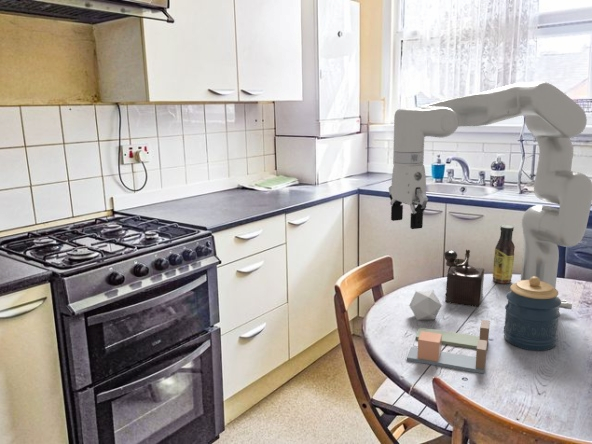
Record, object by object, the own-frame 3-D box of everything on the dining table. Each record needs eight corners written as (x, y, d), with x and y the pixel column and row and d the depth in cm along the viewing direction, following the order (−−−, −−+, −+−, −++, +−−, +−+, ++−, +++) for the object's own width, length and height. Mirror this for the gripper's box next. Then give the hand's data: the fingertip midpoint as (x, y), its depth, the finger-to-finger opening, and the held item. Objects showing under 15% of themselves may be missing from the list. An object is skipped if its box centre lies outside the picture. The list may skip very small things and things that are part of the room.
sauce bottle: (489, 278, 182) (492, 223, 178) (506, 277, 183) (510, 223, 178) (497, 285, 176) (501, 228, 171) (515, 284, 176) (520, 227, 172)
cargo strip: (485, 361, 126) (487, 339, 125) (484, 373, 121) (485, 350, 120) (411, 349, 133) (412, 328, 132) (406, 360, 128) (407, 338, 127)
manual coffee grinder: (448, 291, 172) (450, 238, 168) (483, 295, 168) (487, 242, 163) (439, 308, 158) (442, 251, 154) (477, 313, 154) (481, 255, 150)
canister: (553, 332, 141) (559, 271, 137) (560, 354, 129) (567, 288, 125) (502, 326, 145) (506, 266, 141) (503, 347, 133) (509, 282, 129)
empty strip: (488, 340, 137) (489, 320, 136) (487, 350, 132) (488, 329, 130) (419, 330, 144) (420, 310, 143) (415, 339, 139) (416, 319, 137)
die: (434, 328, 146) (450, 298, 147) (407, 313, 147) (423, 283, 148) (426, 326, 154) (441, 298, 156) (401, 311, 155) (416, 283, 156)
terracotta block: (441, 352, 130) (442, 334, 129) (438, 361, 125) (439, 342, 124) (420, 349, 132) (421, 330, 131) (417, 358, 127) (418, 339, 126)
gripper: (441, 161, 124) (437, 230, 128) (403, 154, 140) (401, 216, 144) (413, 163, 122) (411, 233, 126) (378, 155, 138) (377, 218, 142)
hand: (406, 224), depth 135 cm, fingers open, 9 cm apart
